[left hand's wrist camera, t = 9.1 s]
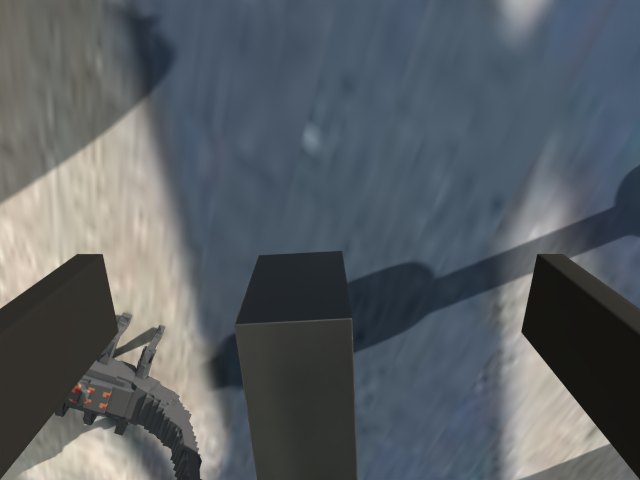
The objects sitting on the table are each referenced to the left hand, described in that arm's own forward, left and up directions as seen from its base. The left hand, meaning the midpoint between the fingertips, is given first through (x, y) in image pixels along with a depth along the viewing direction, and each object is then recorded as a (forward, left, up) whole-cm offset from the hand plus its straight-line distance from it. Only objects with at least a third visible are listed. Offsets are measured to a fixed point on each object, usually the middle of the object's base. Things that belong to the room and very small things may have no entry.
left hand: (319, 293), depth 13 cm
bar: (+21, +6, -13) cm, 25 cm away
